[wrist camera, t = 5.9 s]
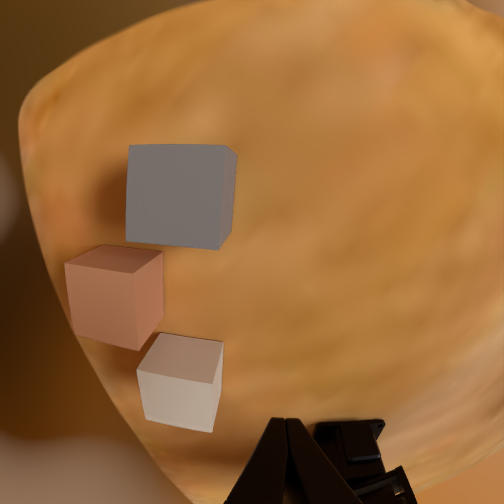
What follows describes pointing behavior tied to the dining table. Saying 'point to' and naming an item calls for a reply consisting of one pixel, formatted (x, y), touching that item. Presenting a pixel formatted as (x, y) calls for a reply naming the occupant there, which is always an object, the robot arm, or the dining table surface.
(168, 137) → the dining table surface
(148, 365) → the white cube
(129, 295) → the terracotta cube
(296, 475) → the robot arm
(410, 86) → the dining table surface
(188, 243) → the grey cube
